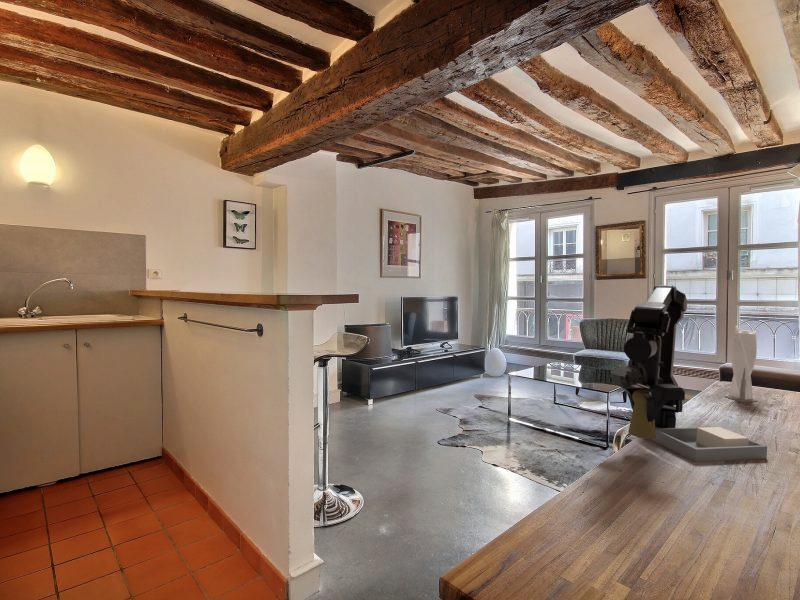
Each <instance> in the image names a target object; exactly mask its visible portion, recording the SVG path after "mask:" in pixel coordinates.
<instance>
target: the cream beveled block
mask: <svg viewBox="0 0 800 600" xmlns="http://www.w3.org/2000/svg"><path fill="white" fill-rule="evenodd" d="M702 427H703V428H697V437H696V443H698V444H701V445H703V446H705V447H707V448H709V447H732V446H748V441H749V440H750V438H749V437H747V436H744V435H742V434H739V433H736V432H734V431H731V430H729V429H726V428H723V427H720V426H702Z"/></svg>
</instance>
